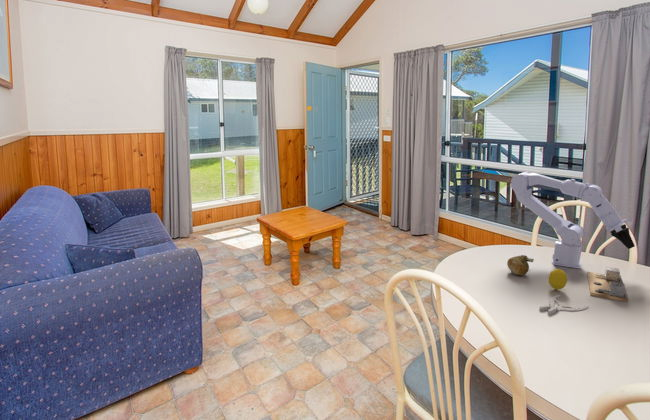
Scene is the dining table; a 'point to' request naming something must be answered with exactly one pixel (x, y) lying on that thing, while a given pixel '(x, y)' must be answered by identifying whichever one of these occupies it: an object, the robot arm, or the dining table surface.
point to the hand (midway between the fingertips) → (630, 246)
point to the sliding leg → (611, 274)
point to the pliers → (553, 308)
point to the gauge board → (602, 286)
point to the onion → (519, 264)
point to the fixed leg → (615, 289)
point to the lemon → (557, 279)
